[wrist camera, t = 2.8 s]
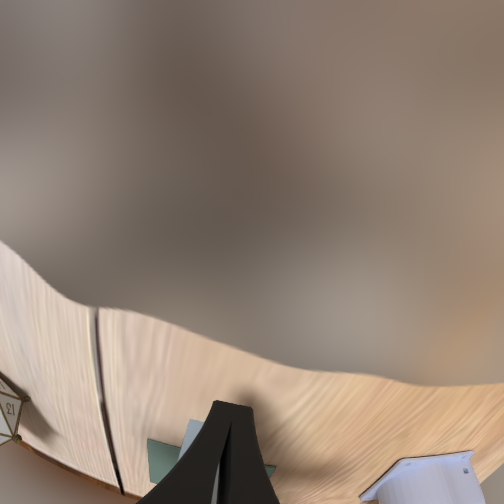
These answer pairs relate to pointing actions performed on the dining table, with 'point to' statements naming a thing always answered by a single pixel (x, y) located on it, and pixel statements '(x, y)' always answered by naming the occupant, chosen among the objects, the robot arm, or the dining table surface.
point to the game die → (9, 413)
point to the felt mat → (169, 460)
